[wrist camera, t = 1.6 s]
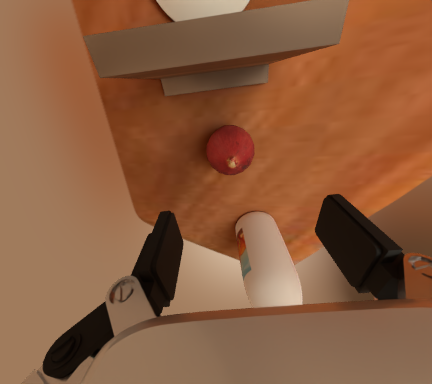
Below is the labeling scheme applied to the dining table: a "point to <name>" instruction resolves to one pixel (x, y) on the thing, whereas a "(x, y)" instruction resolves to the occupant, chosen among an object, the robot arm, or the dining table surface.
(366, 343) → the robot arm
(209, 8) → the coaster
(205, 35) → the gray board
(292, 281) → the milk bottle
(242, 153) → the onion
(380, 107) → the dining table surface
